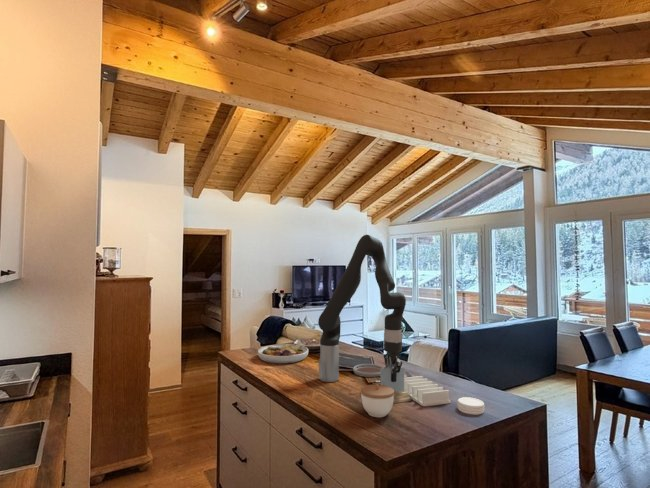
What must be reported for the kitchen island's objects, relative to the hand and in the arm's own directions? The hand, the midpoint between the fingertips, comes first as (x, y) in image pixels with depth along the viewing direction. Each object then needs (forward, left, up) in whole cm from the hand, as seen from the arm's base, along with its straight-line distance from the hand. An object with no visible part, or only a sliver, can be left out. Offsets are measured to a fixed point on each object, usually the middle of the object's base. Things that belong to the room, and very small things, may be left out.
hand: (392, 380), depth 164 cm
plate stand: (+1, 0, -8) cm, 8 cm away
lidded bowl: (-12, -12, -8) cm, 19 cm away
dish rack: (+15, 0, -8) cm, 16 cm away
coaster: (+25, -19, -8) cm, 32 cm away
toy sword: (+8, +33, -8) cm, 35 cm away
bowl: (-31, +80, -8) cm, 86 cm away
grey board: (0, 0, -4) cm, 4 cm away
